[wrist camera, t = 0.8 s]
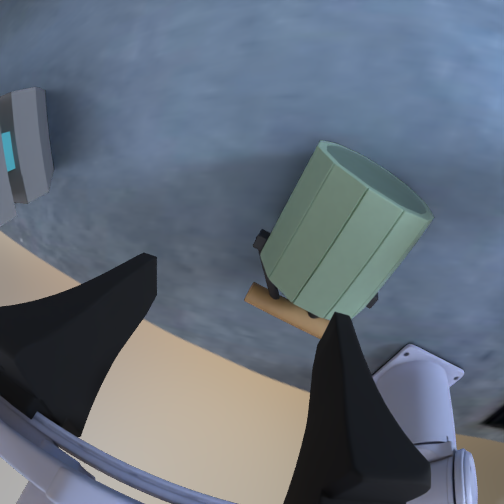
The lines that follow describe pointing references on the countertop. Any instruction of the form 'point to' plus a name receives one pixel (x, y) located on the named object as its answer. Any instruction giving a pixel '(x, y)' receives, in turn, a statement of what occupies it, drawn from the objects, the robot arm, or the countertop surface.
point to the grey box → (23, 150)
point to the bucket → (336, 239)
